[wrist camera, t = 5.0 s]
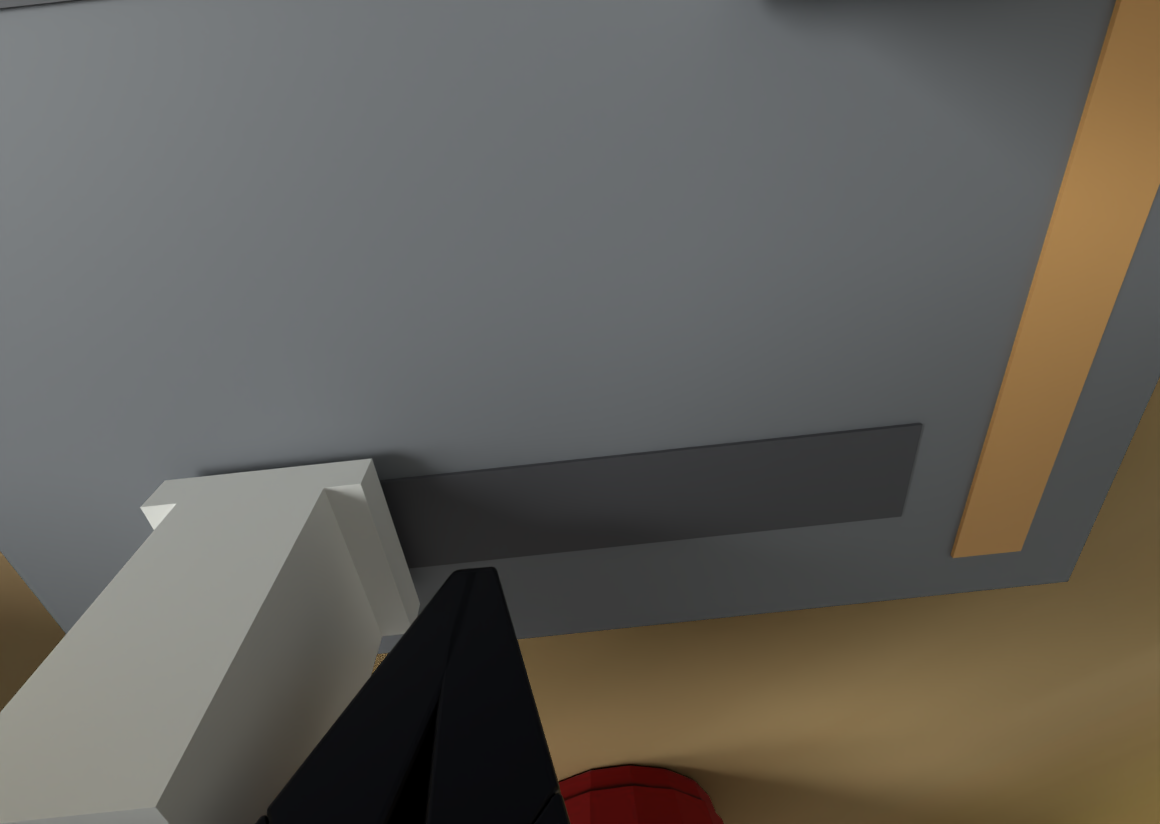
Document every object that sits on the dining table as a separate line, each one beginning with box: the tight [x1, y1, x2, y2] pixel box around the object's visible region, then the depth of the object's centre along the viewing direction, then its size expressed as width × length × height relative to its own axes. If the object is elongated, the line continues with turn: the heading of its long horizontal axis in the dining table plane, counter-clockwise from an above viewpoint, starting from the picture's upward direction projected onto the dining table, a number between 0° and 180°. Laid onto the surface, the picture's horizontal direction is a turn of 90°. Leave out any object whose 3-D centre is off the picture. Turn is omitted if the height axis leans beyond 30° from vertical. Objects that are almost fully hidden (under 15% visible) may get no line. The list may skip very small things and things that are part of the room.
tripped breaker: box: [0, 458, 420, 824], centre depth 7 cm, size 3×3×5 cm
